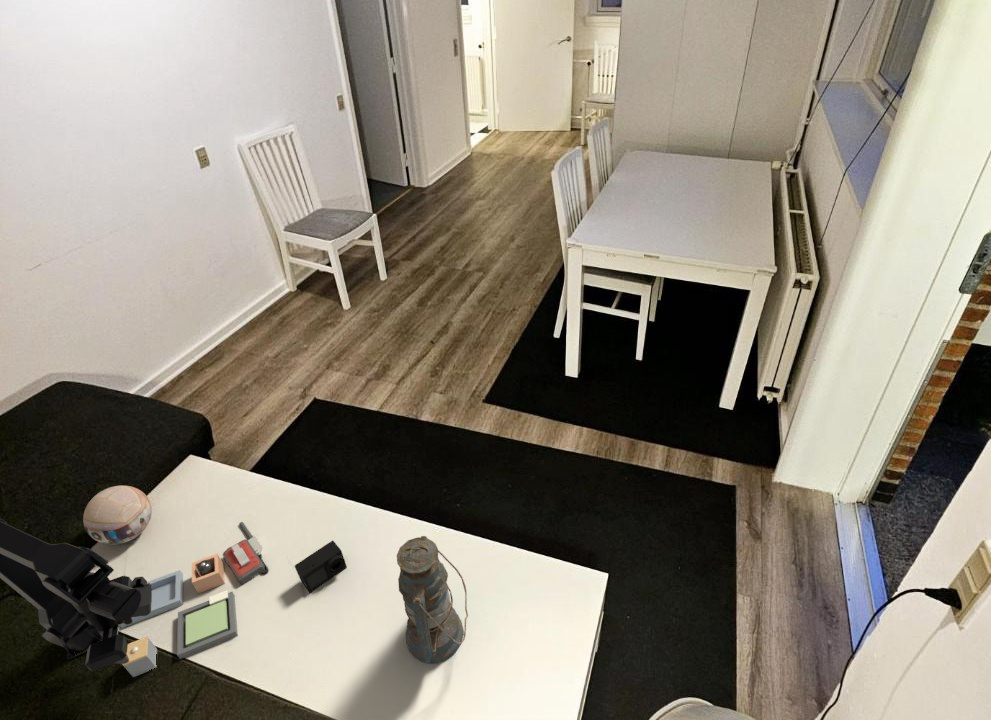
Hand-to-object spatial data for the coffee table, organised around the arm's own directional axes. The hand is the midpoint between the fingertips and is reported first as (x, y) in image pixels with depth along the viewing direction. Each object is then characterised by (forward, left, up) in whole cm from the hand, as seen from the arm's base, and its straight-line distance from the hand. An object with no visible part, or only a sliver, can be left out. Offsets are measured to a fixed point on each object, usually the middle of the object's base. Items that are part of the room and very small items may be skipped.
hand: (128, 642), depth 118 cm
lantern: (+60, -22, -9) cm, 65 cm away
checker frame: (+13, +3, -9) cm, 16 cm away
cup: (+14, +16, -9) cm, 23 cm away
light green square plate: (+13, +3, -8) cm, 15 cm away
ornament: (-6, +42, -9) cm, 43 cm away
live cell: (0, 0, -9) cm, 9 cm away
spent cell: (+14, +16, -9) cm, 23 cm away
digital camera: (+40, +4, -10) cm, 41 cm away
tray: (+1, +16, -9) cm, 18 cm away
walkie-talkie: (+22, +20, -10) cm, 31 cm away
